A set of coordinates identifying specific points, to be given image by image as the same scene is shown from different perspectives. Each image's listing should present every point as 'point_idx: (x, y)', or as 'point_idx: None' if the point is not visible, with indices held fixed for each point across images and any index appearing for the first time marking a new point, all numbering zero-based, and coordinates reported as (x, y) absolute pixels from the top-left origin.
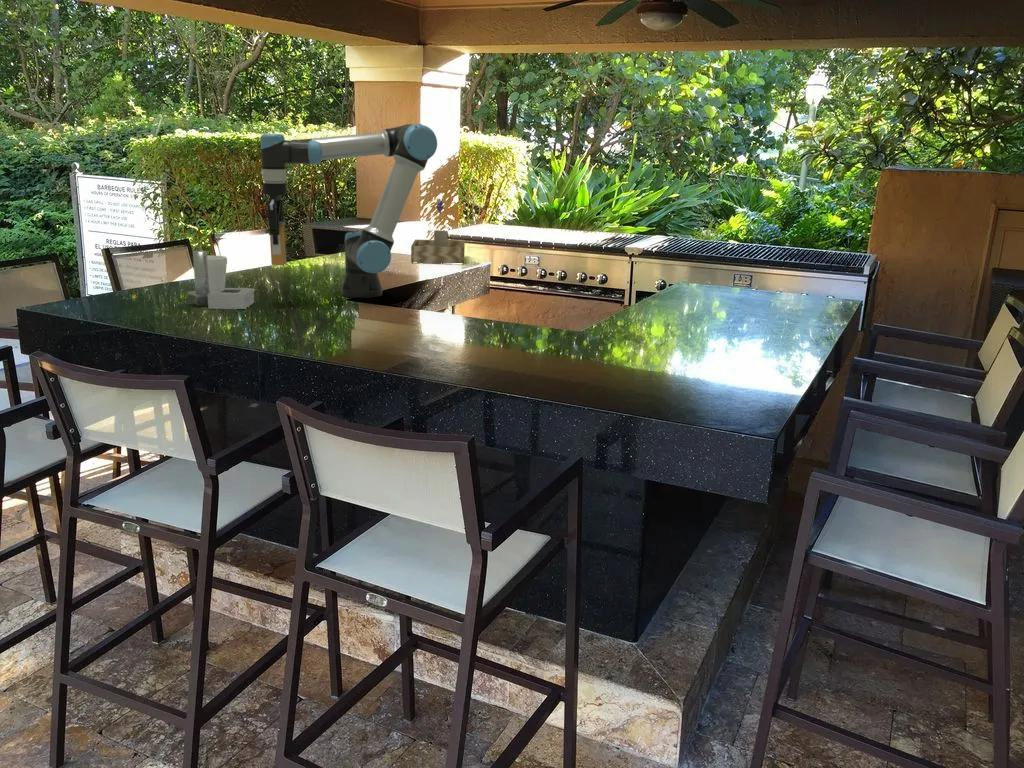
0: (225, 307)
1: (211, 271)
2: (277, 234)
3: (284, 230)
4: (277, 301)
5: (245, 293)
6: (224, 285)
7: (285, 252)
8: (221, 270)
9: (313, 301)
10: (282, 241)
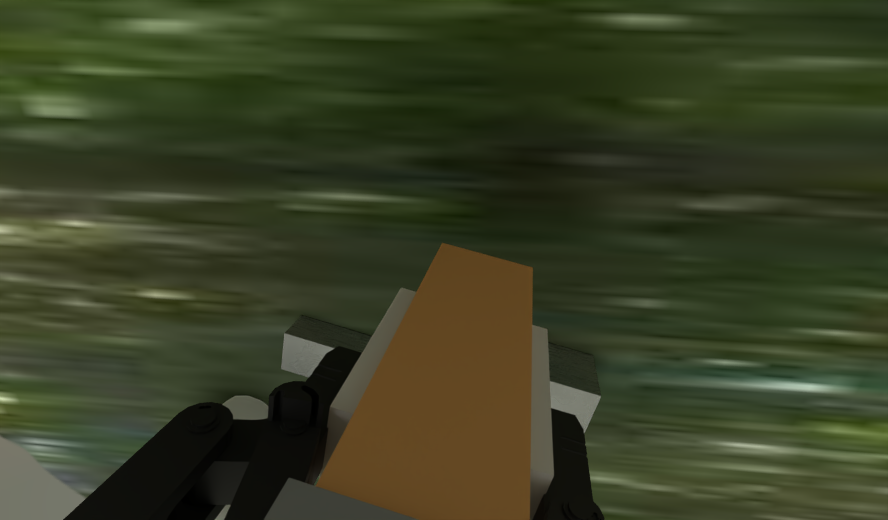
0: None
1: None
2: (589, 512)
3: (270, 407)
4: (413, 218)
5: (564, 388)
6: (234, 414)
7: (428, 280)
8: None
9: (420, 38)
10: (523, 382)
